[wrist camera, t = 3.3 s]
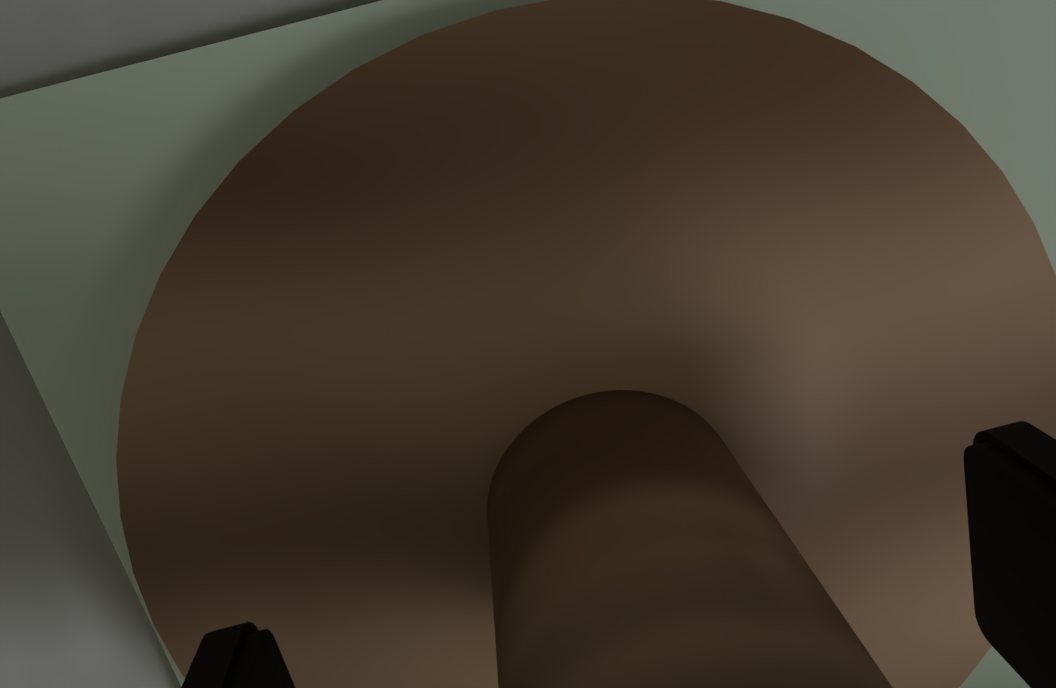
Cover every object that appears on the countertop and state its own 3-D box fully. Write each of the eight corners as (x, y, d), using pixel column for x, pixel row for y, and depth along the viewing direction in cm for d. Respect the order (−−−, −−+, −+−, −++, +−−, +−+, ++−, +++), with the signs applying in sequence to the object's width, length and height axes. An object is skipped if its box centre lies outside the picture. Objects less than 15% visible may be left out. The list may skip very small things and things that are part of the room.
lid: (-37, 149, 12) (-653, 270, 5) (1025, -125, 11) (1746, -349, 5) (313, 903, 17) (223, 1440, 10) (1053, 715, 17) (1431, 1135, 10)
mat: (-74, 119, 12) (-91, 121, 11) (1041, -167, 12) (1061, -175, 11) (300, 908, 17) (297, 927, 17) (1063, 713, 17) (1077, 728, 17)
